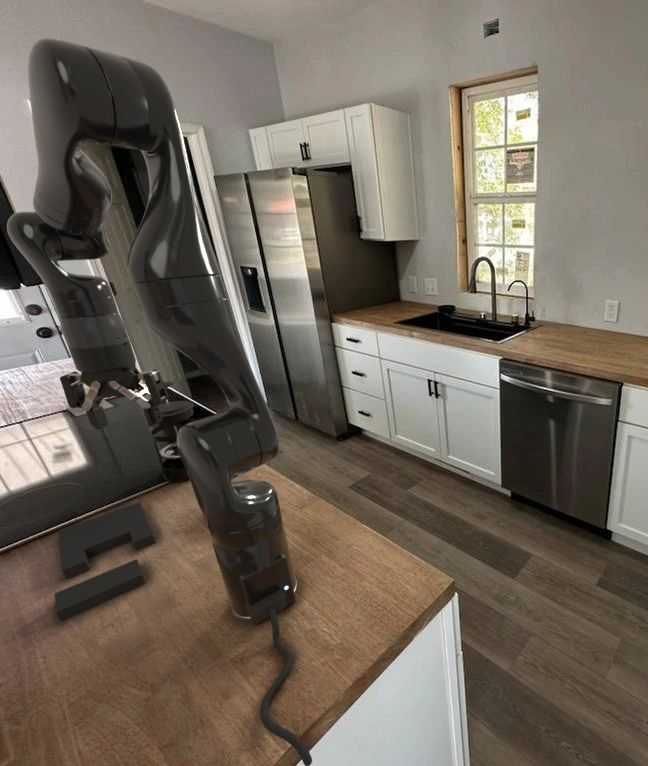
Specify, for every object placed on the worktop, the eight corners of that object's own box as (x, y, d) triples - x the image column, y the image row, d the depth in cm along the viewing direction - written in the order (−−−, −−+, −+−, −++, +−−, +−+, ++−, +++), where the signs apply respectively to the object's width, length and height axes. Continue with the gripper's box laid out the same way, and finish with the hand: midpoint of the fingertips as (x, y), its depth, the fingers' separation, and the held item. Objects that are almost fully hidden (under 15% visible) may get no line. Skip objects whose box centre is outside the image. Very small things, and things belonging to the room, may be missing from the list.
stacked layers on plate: (114, 406, 133) (108, 390, 131) (76, 416, 126) (69, 399, 124) (103, 399, 138) (97, 384, 136) (66, 408, 131) (59, 392, 129)
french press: (157, 471, 100) (128, 383, 91) (202, 455, 107) (179, 372, 98) (173, 490, 93) (143, 397, 85) (220, 472, 100) (196, 384, 92)
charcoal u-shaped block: (156, 542, 78) (152, 534, 77) (66, 579, 70) (61, 570, 69) (143, 509, 87) (140, 501, 86) (62, 538, 79) (58, 530, 78)
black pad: (140, 567, 73) (136, 558, 72) (145, 583, 70) (141, 574, 69) (59, 602, 66) (54, 593, 65) (60, 622, 63) (55, 612, 62)
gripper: (28, 347, 65) (67, 438, 70) (130, 345, 67) (159, 433, 73) (68, 335, 72) (100, 419, 77) (160, 333, 74) (184, 415, 80)
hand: (129, 426), depth 75 cm, fingers open, 8 cm apart
